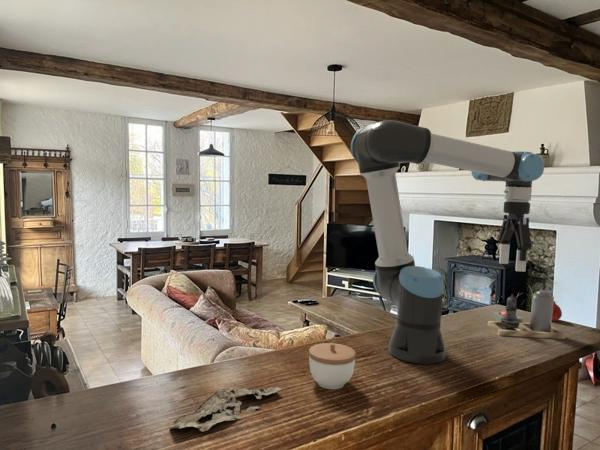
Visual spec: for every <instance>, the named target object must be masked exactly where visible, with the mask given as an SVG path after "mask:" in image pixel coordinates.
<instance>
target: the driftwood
mask: <svg viewBox="0 0 600 450" xmlns="http://www.w3.org/2000/svg"><path fill="white" fill-rule="evenodd" d="M281 390H283V388H282V387H281V386H275V387H274V386H270V387H268V388H255V389H247V388H243V389H238V388H233V387H229V388H224V389H220V388H219V390H217V391H215V393H214V394H212V395H211V396H209V397H208V398H207V399H206V400H205V401H204V402H202V404H200V406H199V407H198V408H197V409H196V410H195V411H194V412H193V413H189V414H185V415H181V416H180V417H178V418H177V419H176V420H175V421H174V422H173V425H174V426H172V427H171V428H169V431H170V430H173V429H178V430H180V429H184V428H191V427H193V428H197V429H198V430H199V432H202V433H204V432H207V431H208V430H210V429H211V428H212V427H213V426H215V425H217V424H220V423H222V422H225V421H226V422H228V421H237V420H239V419H238V418H239V417H238V418H237V417H236V415H235V414H238V415H241V414H243V412H242V411H241V406H242V401H240V400H237V399H236V397H235V396H232V394H237V395H238V396H246V395H254V396H255V398H256V399H257V400H261V399H262V398H263V397H262V396H268V395H271V394H275V393H277V392H278V391H281ZM228 407H231V408H233V409H232V410H231V409H229V408H228ZM244 409H245V410H244V413H252V412H253V411H254V412H256V409H262V407H260V406H259V405H248V406H247V407H245V408H244ZM254 412H253V413H254ZM207 415H212V416H211V419H210V420H207V421H205V422H199V420H200V419H201V418H202V417H206V416H207Z"/></svg>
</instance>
